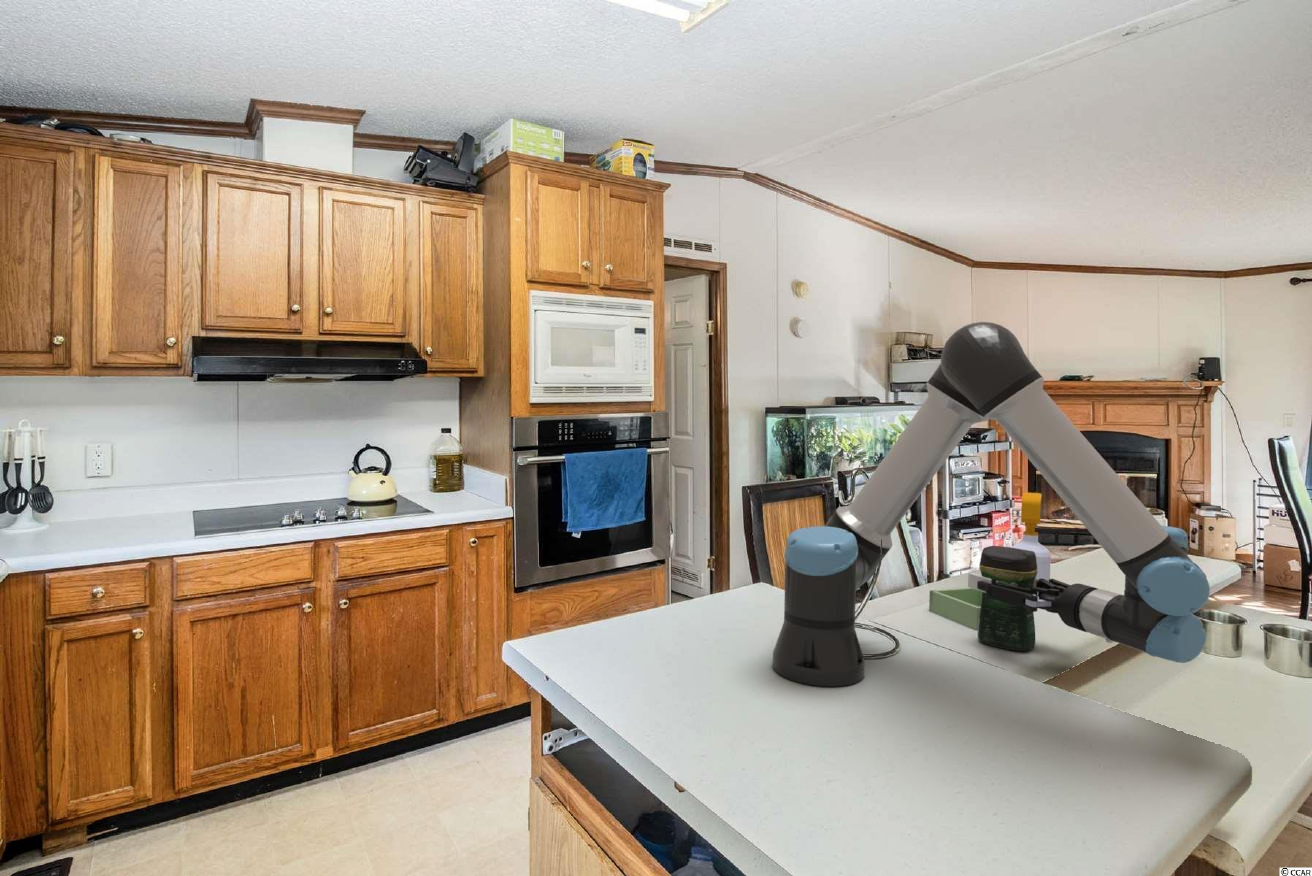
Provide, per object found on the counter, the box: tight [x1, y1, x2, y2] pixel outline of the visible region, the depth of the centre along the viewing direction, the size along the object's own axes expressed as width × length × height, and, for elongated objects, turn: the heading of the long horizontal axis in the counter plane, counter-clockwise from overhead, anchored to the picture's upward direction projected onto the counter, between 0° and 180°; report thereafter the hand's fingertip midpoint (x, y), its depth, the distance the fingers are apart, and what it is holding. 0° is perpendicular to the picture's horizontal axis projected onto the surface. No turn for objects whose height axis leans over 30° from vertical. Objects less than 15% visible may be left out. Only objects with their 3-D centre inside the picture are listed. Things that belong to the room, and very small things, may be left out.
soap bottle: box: [1011, 492, 1052, 595], centre depth 171 cm, size 9×9×25 cm
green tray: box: [928, 587, 982, 631], centre depth 148 cm, size 14×14×4 cm
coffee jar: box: [977, 545, 1038, 651], centre depth 131 cm, size 10×8×19 cm
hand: (989, 578), depth 135 cm, fingers closed on coffee jar, 9 cm apart
